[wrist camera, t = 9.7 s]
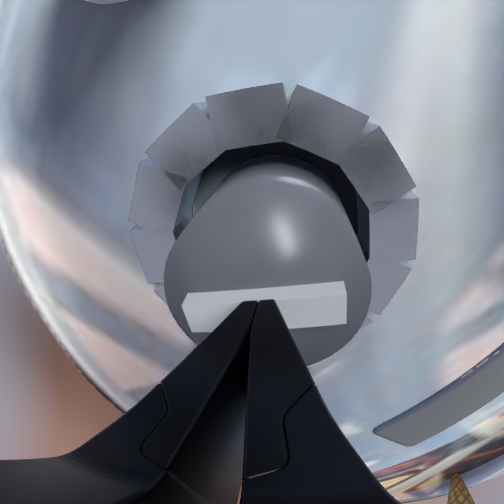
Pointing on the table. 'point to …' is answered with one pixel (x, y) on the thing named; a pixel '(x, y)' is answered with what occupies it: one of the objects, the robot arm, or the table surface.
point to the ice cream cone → (458, 491)
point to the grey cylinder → (106, 1)
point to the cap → (272, 256)
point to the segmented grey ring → (270, 131)
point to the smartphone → (448, 403)
